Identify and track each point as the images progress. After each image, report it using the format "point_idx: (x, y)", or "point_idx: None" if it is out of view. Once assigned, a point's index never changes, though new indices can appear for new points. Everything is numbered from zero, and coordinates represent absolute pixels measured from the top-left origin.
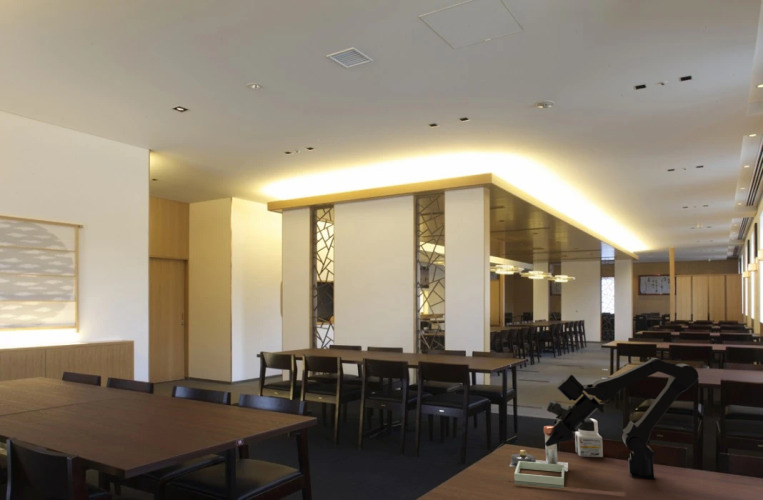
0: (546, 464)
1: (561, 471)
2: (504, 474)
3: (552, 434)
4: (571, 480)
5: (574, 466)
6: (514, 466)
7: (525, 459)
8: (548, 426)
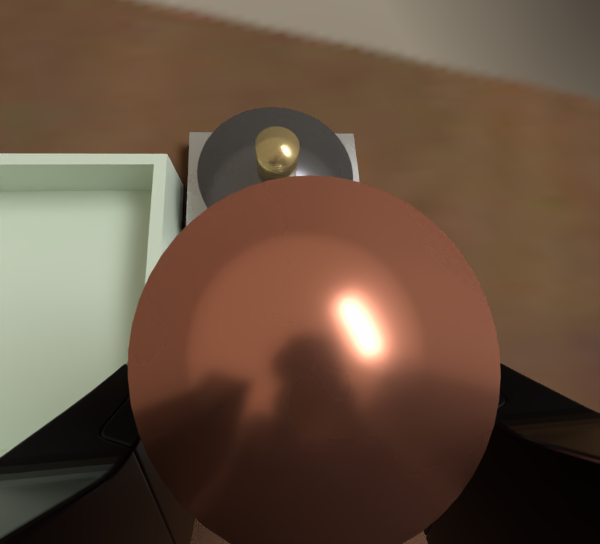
0: None
1: None
2: (96, 130)
3: (72, 412)
4: None
5: None
6: (192, 155)
7: (217, 188)
8: (390, 284)
